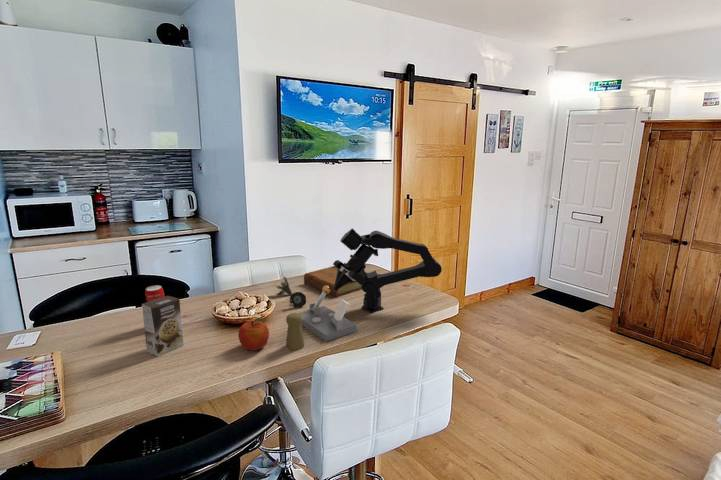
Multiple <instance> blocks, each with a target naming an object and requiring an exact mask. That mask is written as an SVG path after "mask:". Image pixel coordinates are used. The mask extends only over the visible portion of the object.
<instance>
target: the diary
mask: <svg viewBox="0 0 721 480" xmlns="http://www.w3.org/2000/svg"><path fill="white" fill-rule="evenodd" d="M337 269H338V268H337V267H335V266H334V265H333V266H332V265H331V266H329V267H325V268H321V269H317V270H313V271H309V272H305V273H304V275H303V283H304V285H306V286H308V285H309V286H308V287H311V288H314V289H315V290H319V291H321V292H323V291H322V289H323V287H324V286H326V285H327V286H329V287H330V292H329V293H327V294H328V295H331V296H333V297H336V298H340V297H342V296H345V295H347V294H348V295H349V294H351V293H354V292H357V291H360V290H362V288H361V285H360V284H358V282H357V281H355V280H354V282H355V283H353V282H351V283H347V284H345V285H344V286H342V287H341V288H339V289H338V290H334V285H335V281H336V277H337V271H338V270H337Z"/></svg>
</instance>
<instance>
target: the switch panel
mask: <svg viewBox="0 0 721 480" xmlns="http://www.w3.org/2000/svg"><path fill="white" fill-rule="evenodd" d="M315 303H316V302H309V309H308V310H305V311H301V312H298V313H299V314H301V315H302V318H303V321H302V323H301V327H302V326H303V327H304V328H305V329H307V330H308V331H310V332H311V333H312V334H314V335H315V336H317V337H318V338H320V339H321V340H323V341H324V342H325V343H326V342H328V341H333V340H335V339H338V338H340V337H341V338H342V337H343V336H347V335H349V334H352V333H355V332H357V329H358V328H357V326H358V325H357V323H354V322H353V321H351V320H349V319H347V318H346V317H344V316H343V318H342V320H339V321H336V326H335V325H334V324H333V323H332V322H331V321H330V320H331V318H332V317H334V315H335V312H336V311H333V310H332V309H330V308H329V307H327V306H326V305H322V306H319V307H314V312H313V311H312V310H311V309H310V308H311V306H312V305H315Z"/></svg>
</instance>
